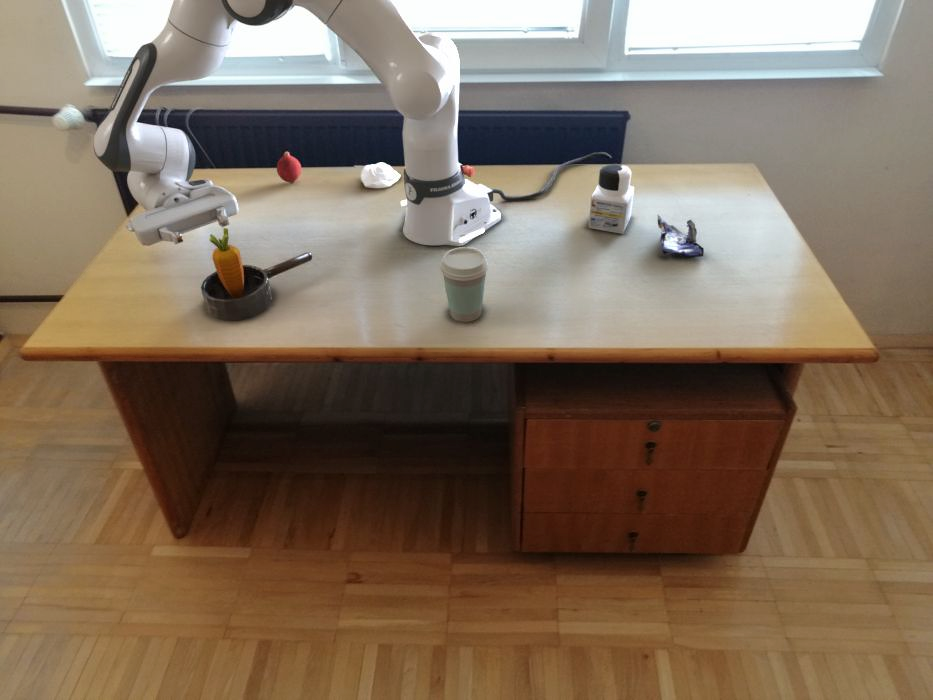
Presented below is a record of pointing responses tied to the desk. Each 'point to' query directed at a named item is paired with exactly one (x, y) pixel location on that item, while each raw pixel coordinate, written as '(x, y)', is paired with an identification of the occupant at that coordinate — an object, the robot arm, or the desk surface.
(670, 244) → the snack package
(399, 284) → the desk surface
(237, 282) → the carrot
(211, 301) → the pan
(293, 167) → the onion
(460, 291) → the coffee cup
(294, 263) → the pan handle
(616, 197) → the container
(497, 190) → the robot arm
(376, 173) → the white lumpy piece
